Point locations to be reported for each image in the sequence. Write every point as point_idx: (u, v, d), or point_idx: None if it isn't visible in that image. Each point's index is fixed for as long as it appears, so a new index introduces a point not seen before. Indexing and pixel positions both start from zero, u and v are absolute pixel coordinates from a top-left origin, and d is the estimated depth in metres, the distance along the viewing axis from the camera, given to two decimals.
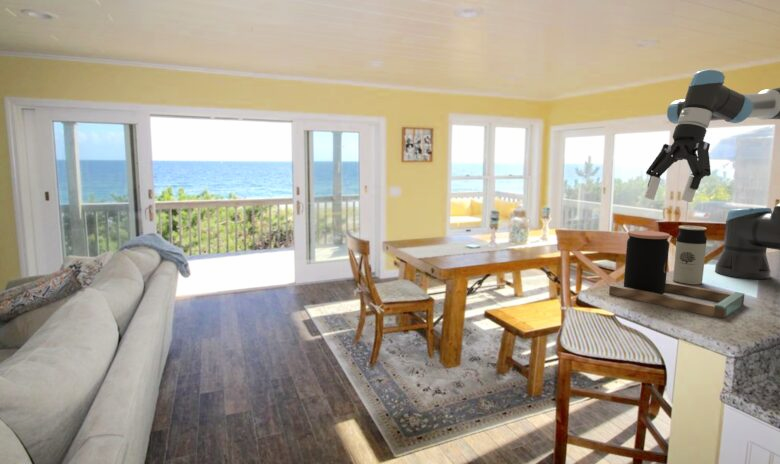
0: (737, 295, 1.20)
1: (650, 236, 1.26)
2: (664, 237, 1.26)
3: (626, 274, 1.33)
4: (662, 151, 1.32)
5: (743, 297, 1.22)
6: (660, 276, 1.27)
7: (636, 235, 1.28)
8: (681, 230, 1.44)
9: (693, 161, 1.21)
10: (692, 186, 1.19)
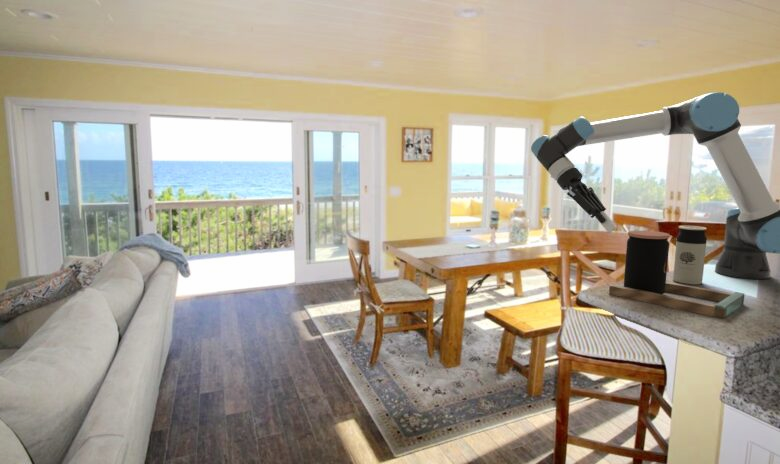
0: (737, 295, 1.20)
1: (650, 236, 1.26)
2: (664, 237, 1.26)
3: (626, 274, 1.33)
4: None
5: (743, 297, 1.22)
6: (660, 276, 1.27)
7: (636, 235, 1.28)
8: (681, 230, 1.44)
9: None
10: None
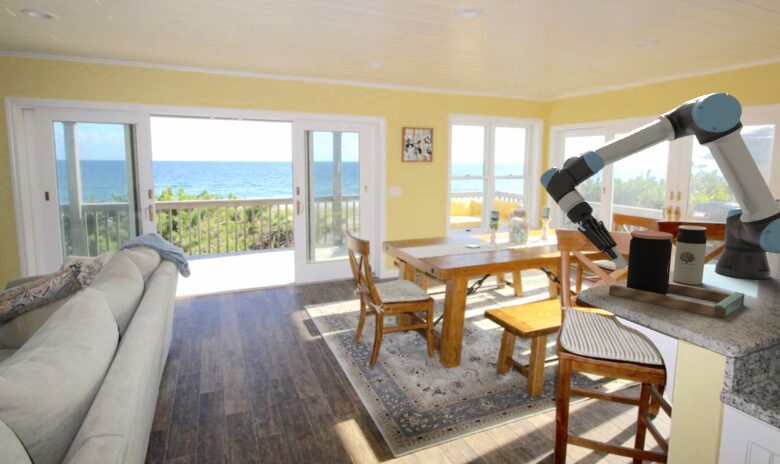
0: (737, 295, 1.20)
1: (653, 236, 1.25)
2: (667, 237, 1.25)
3: (629, 275, 1.32)
4: None
5: (743, 297, 1.22)
6: (664, 276, 1.27)
7: (639, 235, 1.28)
8: (681, 230, 1.44)
9: None
10: None
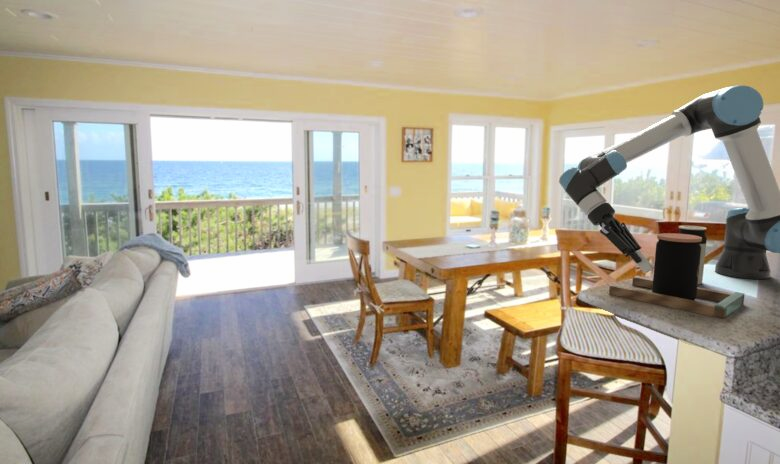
0: (737, 295, 1.20)
1: (685, 239, 1.20)
2: (698, 240, 1.20)
3: (656, 279, 1.27)
4: None
5: (743, 297, 1.22)
6: (694, 280, 1.22)
7: (669, 238, 1.22)
8: (681, 230, 1.44)
9: None
10: None
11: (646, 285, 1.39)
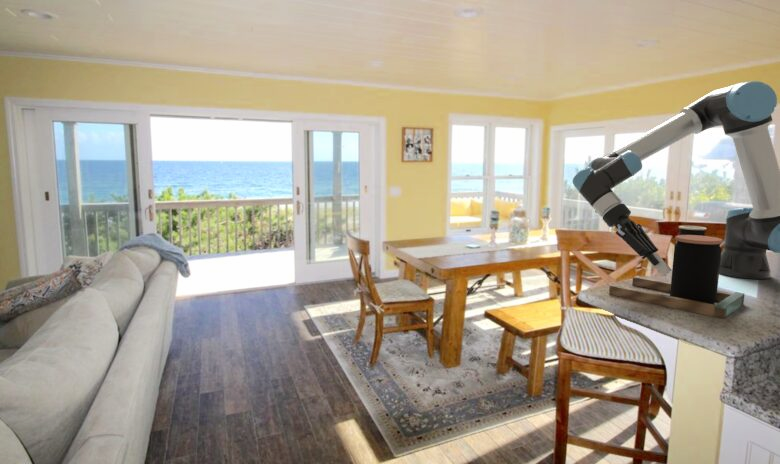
0: (737, 295, 1.20)
1: (705, 241, 1.17)
2: (719, 242, 1.17)
3: (675, 282, 1.23)
4: None
5: (743, 297, 1.22)
6: (714, 283, 1.19)
7: (688, 240, 1.19)
8: (681, 230, 1.44)
9: None
10: None
11: (646, 285, 1.39)
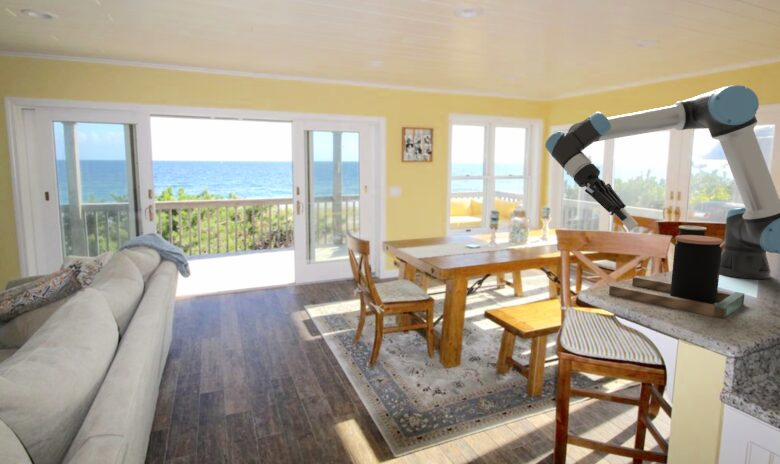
0: (737, 295, 1.20)
1: (705, 241, 1.17)
2: (719, 242, 1.17)
3: (675, 282, 1.23)
4: None
5: (743, 297, 1.22)
6: (714, 284, 1.19)
7: (689, 240, 1.19)
8: (681, 230, 1.44)
9: None
10: None
11: (646, 285, 1.39)
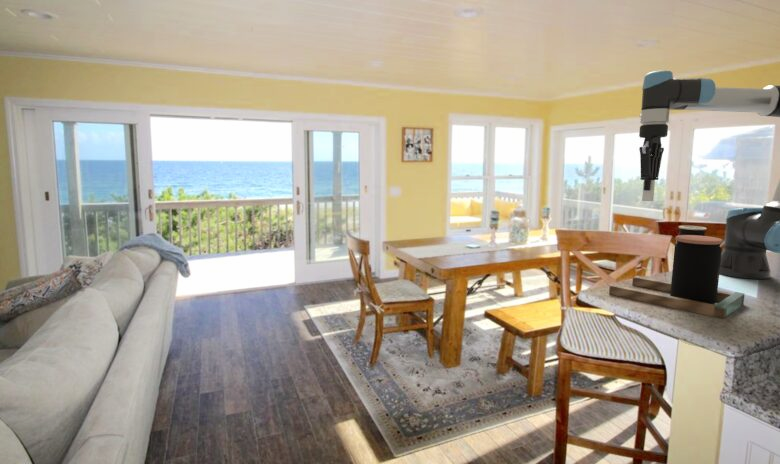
0: (737, 295, 1.20)
1: (705, 241, 1.17)
2: (719, 242, 1.17)
3: (675, 282, 1.23)
4: None
5: (743, 297, 1.22)
6: (714, 284, 1.19)
7: (689, 240, 1.19)
8: (681, 230, 1.44)
9: None
10: None
11: (646, 285, 1.39)
